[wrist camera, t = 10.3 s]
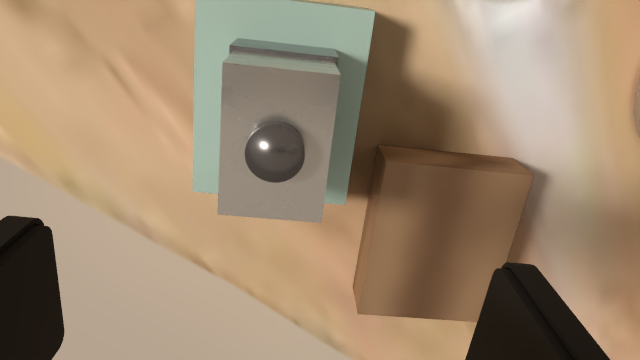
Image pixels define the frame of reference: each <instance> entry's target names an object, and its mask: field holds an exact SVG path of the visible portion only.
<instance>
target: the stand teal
mask: <svg viewBox="0 0 640 360" xmlns="http://www.w3.org/2000/svg"><path fill="white" fill-rule="evenodd" d="M374 17H375V11H373V10H371V9H368V8H361V7H353V6H345V5H337V4H329V3H321V2H313V1H306V0H195V59H194V134H193V192H204V193H215V194H218V187H219V155H220V123H221V91H222V62H223V61H224V60H225V59H226V58H227V57H228V56H229V47H230V44H231V43H232V42H233V41H235V40H236V39H237V38H243V39H252V40H261V41H270V42H278V43H287V44H296V45H305V46H314V47H323V48H332V49H334V50H335V51H336V53H337V55H338V57H339V60H338V70H339V72H340V74H341V77H340V84H339V92H338V100H337V107H336V115H335V123H334V130H333V138H332V146H331V153H330V161H329V169H328V176H327V184H326V192H325V199H324V203H329V204H341V205H345V203H346V196H347V190H348V184H349V177H350V171H351V164H352V158H353V152H354V145H355V139H356V132H357V126H358V120H359V113H360V107H361V100H362V94H363V88H364V81H365V75H366V69H367V62H368V56H369V49H370V43H371V37H372V30H373V24H374Z"/></svg>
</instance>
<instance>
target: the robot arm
mask: <svg viewBox="0 0 640 360" xmlns="http://www.w3.org/2000/svg"><path fill="white" fill-rule="evenodd" d="M634 115H635V121H636V128H637V131H638V134H639V136H640V78H639V82H638V86H637V90H636V94H635V108H634ZM63 337H64V324H63V316H62V308H61V300H60V292H59V284H58V275H57V267H56V260H55V252H54V243H53V235H52V230H51V229H50V228H49V227H48V226H44V223H43V222H42V221H41V220H40V219H39V218H28V217H18V216H6V217H5V218H3V219H2V220H0V360H52V358H53V357H54V355H55V354H56V352H57V351H58V350H59V348H60V346H61V344H62V341H63ZM465 360H610V359H609V358H608V356H607V355H606V354H605V353H604V351H603V350H602V349H601V348H600V346H599V345H598V344H597V343H596V341H595V340H594V339H593V338H592V336H591V335H590V334H589V332H588V331H587V330H586V329H585V327H584V326H583V325H582V324H581V322H580V321H579V320H578V319H577V317H576V316H575V315H574V314H573V312H572V311H571V310H570V309H569V307H568V306H567V305H566V304H565V302H564V301H563V300H562V299H561V297H560V296H559V295H558V294H557V292H556V291H555V290H554V289H553V287H552V286H551V285H550V283H549V282H548V281H547V280H546V278H545V277H544V276H543V275H542V273H541V272H540V271H539V270H538V268H537V267H536V266H534V265H531V264H520V263H510V262H507V263H504V265H503V266H502V267H501V268H497V269H495V271H494V272H493V275H492V278H491V281H490V284H489V287H488V290H487V293H486V297H485V300H484V303H483V306H482V309H481V312H480V315H479V319H478V322H477V325H476V328H475V331H474V334H473V337H472V341H471V344H470V347H469V350H468V353H467V356H466V359H465Z"/></svg>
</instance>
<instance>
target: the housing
mask: <svg viewBox="0 0 640 360" xmlns="http://www.w3.org/2000/svg"><path fill="white" fill-rule="evenodd" d="M338 60H339V57H338V55H337V53H336V51H335V50H334V49H332V48H323V47H314V46H305V45H296V44H287V43H278V42H270V41H261V40H252V39H243V38H237V39H236V40H235V41H233V42H232V43H231V44H230V47H229V56H228V57H227V58H226V59H225V60H224V61H223V62H222V91H221V123H220V155H219V187H218V215H230V216H243V217H255V218H268V219H281V220H293V221H306V222H319V223H321V222H322V215H323V207H324V199H325V192H326V184H327V176H328V169H329V161H330V153H331V146H332V138H333V130H334V123H335V115H336V107H337V100H338V92H339V84H340V77H341V74H340V72H339V70H338Z"/></svg>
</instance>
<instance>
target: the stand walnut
mask: <svg viewBox="0 0 640 360" xmlns="http://www.w3.org/2000/svg"><path fill="white" fill-rule="evenodd" d="M533 178H534V175H533V174H531V173H530V172H529V171H528V170H526V169H525V168H524V167H523V166H521V165H520V164H519V163H518V162H516V161H515V160H514V159H513V158H505V157H495V156H485V155H475V154H465V153H455V152H445V151H435V150H425V149H415V148H405V147H395V146H385V145H378V148H377V154H376V159H375V165H374V171H373V176H372V182H371V188H370V193H369V199H368V204H367V210H366V216H365V221H364V227H363V233H362V238H361V244H360V250H359V255H358V261H357V266H356V272H355V278H354V283H353V290H354V296H355V301H356V307H357V312H358V314H365V315H380V316H395V317H410V318H425V319H441V320H456V321H471V322H478V319H479V315H480V312H481V309H482V306H483V303H484V300H485V297H486V293H487V290H488V287H489V284H490V281H491V278H492V275H493V272H494V271H495V269H497V268H501V267H502V266H503V265H504V263H506V261H507V258H508V255H509V252H510V249H511V246H512V243H513V240H514V236H515V233H516V230H517V227H518V224H519V221H520V218H521V215H522V212H523V209H524V206H525V203H526V200H527V197H528V193H529V190H530V187H531V184H532V181H533Z"/></svg>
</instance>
